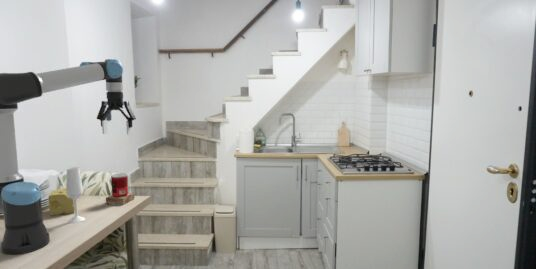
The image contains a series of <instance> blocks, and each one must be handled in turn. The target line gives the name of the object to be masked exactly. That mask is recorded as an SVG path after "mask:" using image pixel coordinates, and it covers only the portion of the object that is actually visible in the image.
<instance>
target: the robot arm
mask: <svg viewBox="0 0 536 269" xmlns="http://www.w3.org/2000/svg"><path fill="white" fill-rule="evenodd" d="M123 73H124V68H123V64H122V62H121V60H120V59H115V58H113V59H111V58H108V59H105V60H104V61H94V62H93V61H92V62H91V61H81V62H80V64H79V65H78V66H74V67H73V66H72V67H68V68H62V69H61V68H60V69H57V70H56V69H55V70H50V71H45V72H38V73H35V72H34V71H27V72H19V73H18V72H16V73H15V72H12V73H11V72H9V73H8V72H1V73H0V214H2V215H3V220H4V228H5V229H4V234H3V238H2V241H1V243H0V250H1V253H3V254H6V255H20V254H26V253H30V252H34V251H36V250H40V249H41V248H43V247H45V246H47V245H48V244H49V243H50V241H51V238H50V236H51V235H50V233H49V232H48V230H47V228H46V225H45V223H44V220H43V219H44V218H43V206H42V192H41V189H40V186H39V185H38V184H37V183H36V182H35V183H34V182H31V181H28V182H27V181H25V179H24V176H23V175H22V174H21V173H19V165H18V153H17V152H18V151H17V142H16V141H17V139H16V129H15V117H14V113H15V112H16V111H17V110H18V108H19V107H18V106H19V105H18V104H20V103H22V102H25V101H28V100H32V99H36V98H41V97H42V96H43V94H47V93H51V92H55V91H59V90H63V89H68V88H73V87H78V86H80V85H86V84H90V83H94V82H99V81H105V90H106V99H107V100H102V101H101V106H100V108H99V110H98V113H97V115H96V119H97V120H99V121H100V127H101V128H102V129H101V130H102V134H108V121H107V117H108V116H109V115H110V113H111V112H112V111H119V112H121V114H122V116H124V118H125V119H126V120H127V121H126V135H132V128H133V121H134V120H136V118H137V117H136V116H135V114H134V111H133V109H132V107H131V105H130V101H129V100H124V92H123V88H124V86H123Z"/></svg>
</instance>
